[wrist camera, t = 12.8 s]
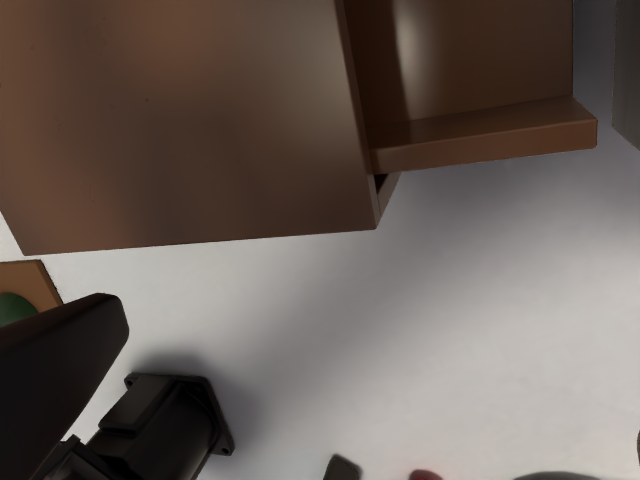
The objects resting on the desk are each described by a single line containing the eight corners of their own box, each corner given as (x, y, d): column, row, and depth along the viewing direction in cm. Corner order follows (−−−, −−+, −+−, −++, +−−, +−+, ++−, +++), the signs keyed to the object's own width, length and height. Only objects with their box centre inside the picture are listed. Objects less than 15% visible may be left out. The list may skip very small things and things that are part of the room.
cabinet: (355, -195, 14) (275, -327, 9) (406, 163, 19) (376, 230, 13) (28, -55, 19) (-155, -81, 14) (130, 197, 24) (23, 256, 18)
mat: (92, 361, 31) (88, 365, 31) (13, 357, 34) (8, 361, 34) (40, 259, 28) (35, 262, 28) (-43, 265, 31) (-49, 268, 31)
